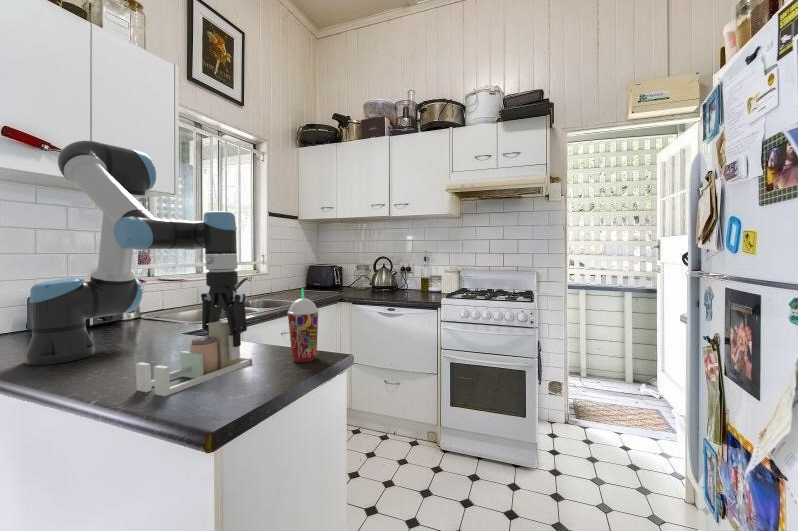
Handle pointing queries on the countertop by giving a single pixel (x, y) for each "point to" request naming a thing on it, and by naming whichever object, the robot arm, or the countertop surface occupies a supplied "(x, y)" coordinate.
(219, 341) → the skincare box
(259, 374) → the countertop surface
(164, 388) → the lane
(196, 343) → the jar
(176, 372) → the pusher
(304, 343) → the smoothie
